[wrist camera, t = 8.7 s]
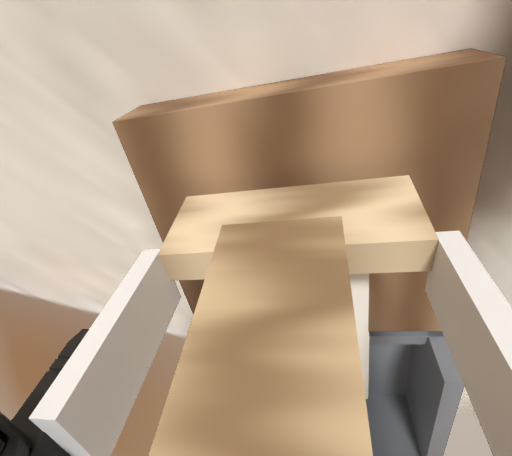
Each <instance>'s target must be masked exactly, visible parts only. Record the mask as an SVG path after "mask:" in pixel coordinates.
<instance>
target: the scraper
mask: <svg viewBox="0 0 512 456" xmlns="http://www.w3.org/2000/svg"><path fill="white" fill-rule="evenodd" d="M438 240H439V239H438V237H437V234H436V232H435V230H434V228H433V226H432V224H431V222H430V219H429V217H428V215H427V213H426V211H425V209H424V206H423V204H422V202H421V200H420V198H419V196H418V193H417V191H416V189H415V187H414V185H413V183H412V180H411V178H410V176H409V175H405V176H394V177H384V178H374V179H363V180H353V181H343V182H332V183H322V184H312V185H301V186H291V187H281V188H270V189H260V190H250V191H239V192H229V193H219V194H208V195H198V196H188V197H186V199H185V201H184V203H183V205H182V207H181V208H180V210H179V212H178V214H177V216H176V218H175V220H174V222H173V224H172V226H171V228H170V230H169V232H168V234H167V236H166V238H165V240H164V242H163V244H162V246H161V248H160V251H159V253H158V257H159V259H160V261H161V263H162V265H163V266H164V268H165V270H166V272H167V274H168V276H169V278H170V280H171V281H172V280H200V279H205V280H204V283H203V287H202V290H201V293H200V296H199V299H198V302H197V305H196V309H195V312H194V315H193V318H192V321H191V324H190V327H189V331H188V334H187V337H186V340H185V343H184V347H183V350H182V353H181V356H180V359H179V362H178V365H177V369H176V371H175V375H174V378H173V381H172V384H171V387H170V391H169V393H168V397H167V400H166V403H165V406H164V409H163V412H162V416H161V419H160V422H159V425H158V428H157V431H156V434H155V438H154V441H153V444H152V447H151V450H150V453H149V456H373V452H372V445H371V437H370V429H369V422H368V414H367V406H366V399H365V391H364V383H363V376H362V368H361V360H360V353H359V345H358V337H357V330H356V322H355V314H354V307H353V299H352V291H351V284H350V276H349V274H366V273H394V272H422V271H432V267H433V262H434V258H435V254H436V249H437V245H438Z"/></svg>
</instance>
